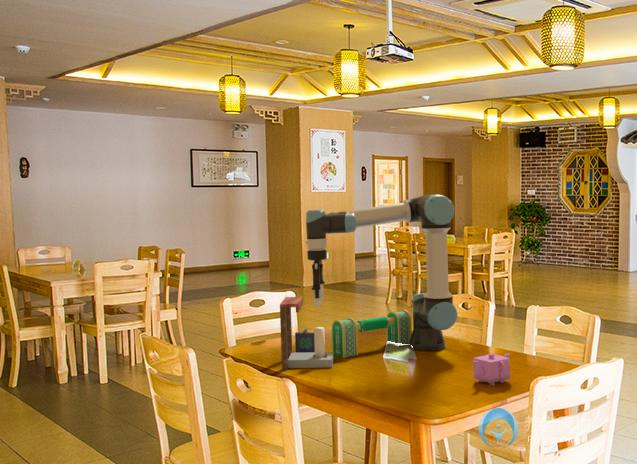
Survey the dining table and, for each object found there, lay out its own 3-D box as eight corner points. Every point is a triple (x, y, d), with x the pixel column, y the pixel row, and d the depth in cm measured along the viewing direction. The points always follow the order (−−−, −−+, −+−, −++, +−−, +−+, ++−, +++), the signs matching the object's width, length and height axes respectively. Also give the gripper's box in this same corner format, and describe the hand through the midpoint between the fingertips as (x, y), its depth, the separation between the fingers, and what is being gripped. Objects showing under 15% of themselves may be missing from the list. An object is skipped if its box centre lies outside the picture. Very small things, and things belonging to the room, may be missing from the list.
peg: (325, 362, 267) (324, 327, 266) (325, 364, 263) (323, 329, 262) (315, 362, 267) (314, 327, 266) (314, 364, 263) (313, 329, 262)
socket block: (333, 359, 270) (333, 352, 270) (332, 367, 258) (331, 359, 258) (291, 360, 272) (291, 352, 271) (288, 367, 260) (287, 360, 260)
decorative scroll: (343, 358, 273) (342, 321, 272) (332, 354, 280) (331, 318, 279) (412, 345, 292) (411, 310, 291) (399, 341, 299) (398, 308, 298)
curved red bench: (304, 358, 274) (302, 296, 273) (300, 369, 256) (298, 304, 255) (287, 358, 275) (285, 296, 273) (282, 369, 257) (279, 304, 255)
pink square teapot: (494, 373, 244) (493, 346, 243) (523, 381, 232) (522, 353, 232) (457, 381, 234) (457, 354, 233) (486, 390, 223) (485, 361, 222)
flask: (317, 352, 283) (316, 327, 283) (317, 354, 280) (316, 328, 280) (295, 352, 284) (294, 327, 283) (295, 354, 281) (294, 329, 280)
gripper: (310, 247, 275) (312, 298, 276) (304, 252, 250) (306, 309, 251) (328, 246, 274) (330, 298, 276) (324, 252, 249) (326, 308, 251)
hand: (319, 303), depth 263 cm, fingers open, 13 cm apart
